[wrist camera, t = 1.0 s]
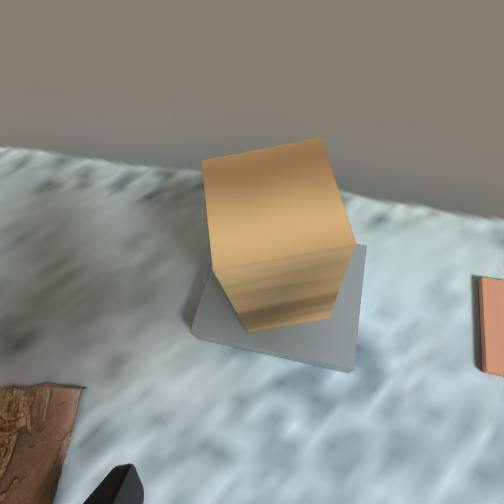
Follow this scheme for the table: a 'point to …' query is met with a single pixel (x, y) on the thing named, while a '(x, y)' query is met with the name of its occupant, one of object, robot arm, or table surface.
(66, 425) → the wooden fragment
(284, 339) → the slate ledge
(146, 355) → the table surface
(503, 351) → the terracotta mat
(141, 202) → the table surface
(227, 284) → the oak block
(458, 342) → the table surface
